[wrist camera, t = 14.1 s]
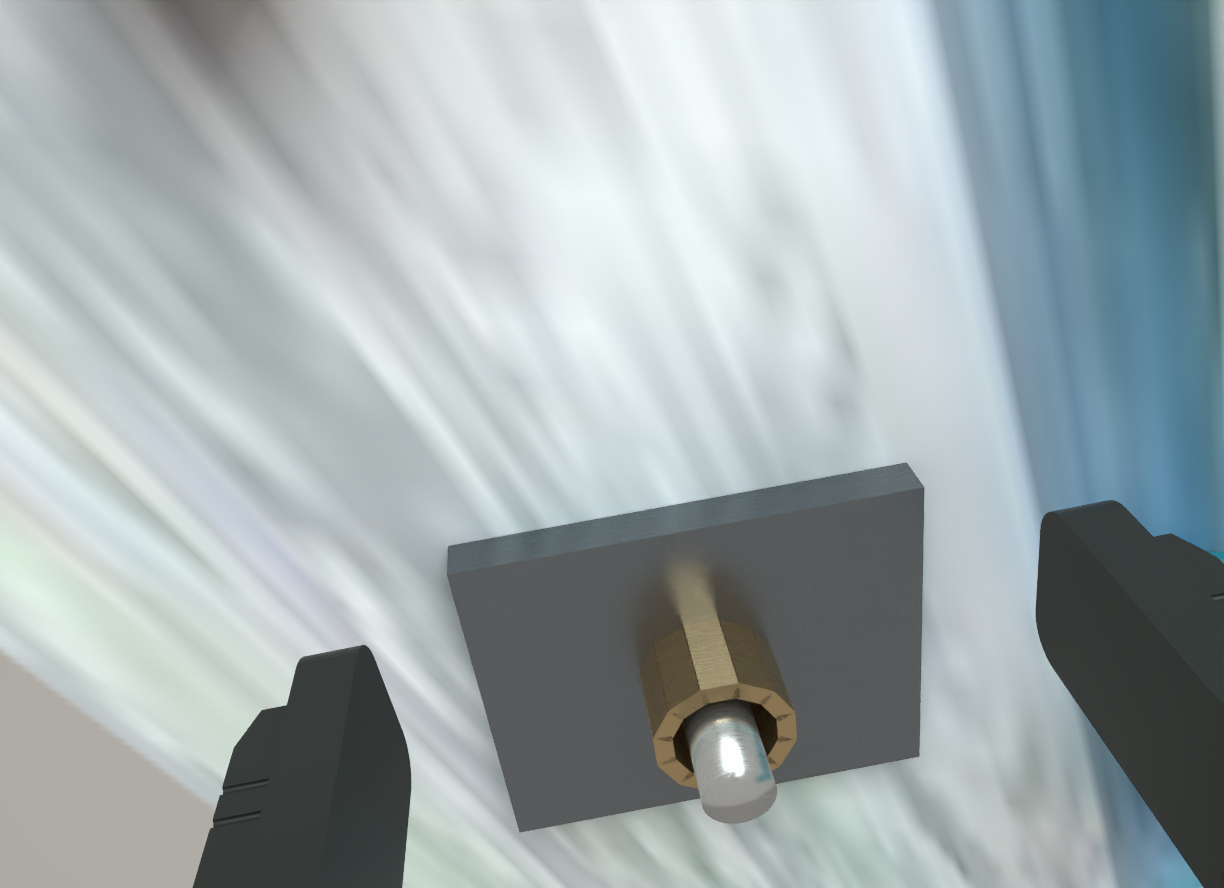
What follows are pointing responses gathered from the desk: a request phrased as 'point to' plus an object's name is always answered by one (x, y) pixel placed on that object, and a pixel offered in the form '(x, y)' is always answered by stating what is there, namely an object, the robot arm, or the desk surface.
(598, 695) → the piston stand
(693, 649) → the bronze ring
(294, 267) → the desk surface
